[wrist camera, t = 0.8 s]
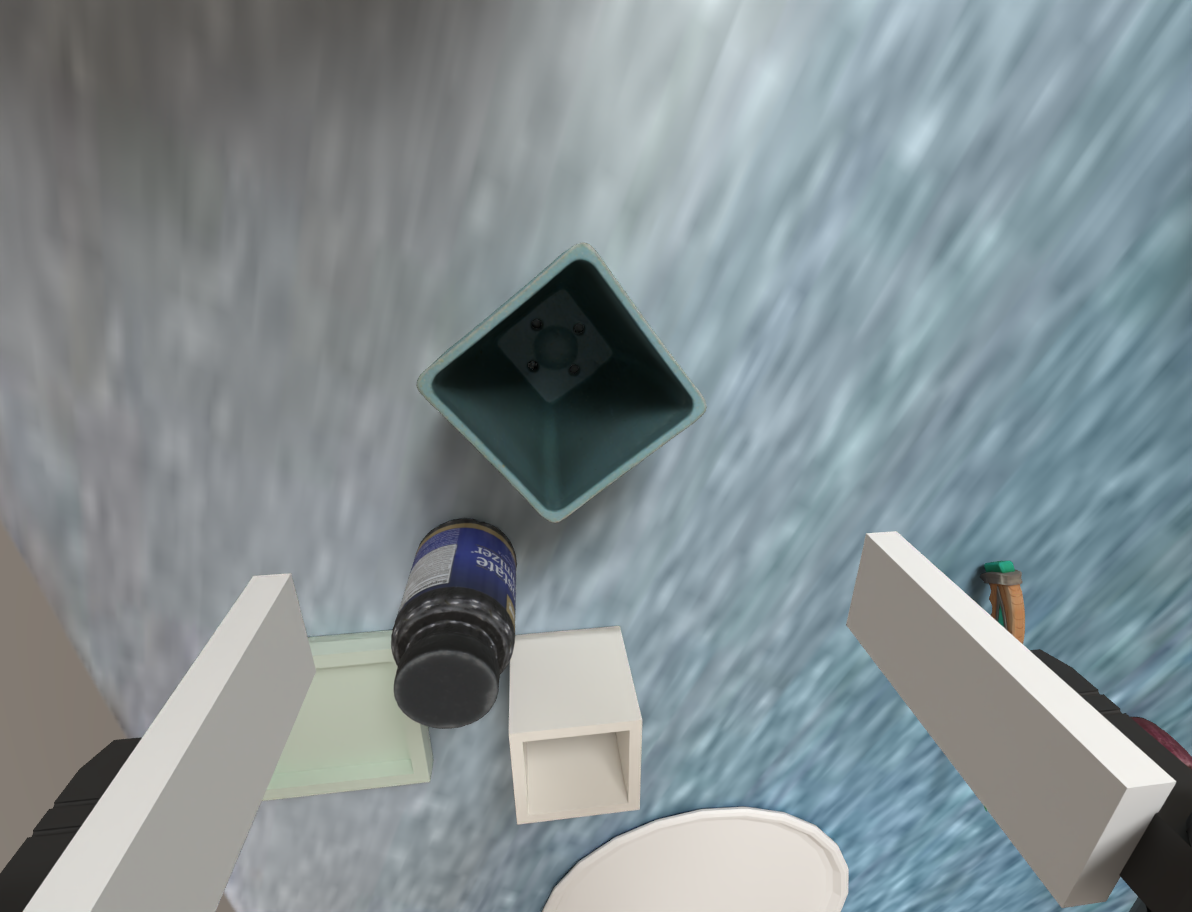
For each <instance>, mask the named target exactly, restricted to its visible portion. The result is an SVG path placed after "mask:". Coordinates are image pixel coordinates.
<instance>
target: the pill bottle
mask: <svg viewBox="0 0 1192 912" xmlns="http://www.w3.org/2000/svg"><path fill="white" fill-rule="evenodd" d="M516 567H517V563H516V555H515V551H514V549H513V547H512V544H511V542H510V541H509V539H508V538H507V537H506V536H505V534H504V533H502V532H501V531H500V530H499V529H498V528H496V527H494V526H492V525H490V524H488V523H485V522H478V521H476V520H474V519H456V520H451V521H448V522H446V523H444V524H442V525H439V526H438V527H436V528H434V529H433V530H431V531H430V532H429V533H428V534H427V535H426V536H425V538H424V539H423V540H422V541H421V543H420V545H419V548H418V550H417V553H416V556H415V559H414V562H413V566H412V569H411V572H410V575H409V578H408V582H407V585H406V589H405V592H404V595H403V598H402V602H401V605H400V608H399V611H398V615H397V618H396V621H395V625H394V628H393V631H392V635H391V649H392V654H393V658H394V660H395V662H396V665H397V666H398V667H397V671H396V676H395V680H394V697H395V700H396V702H397V704H398V707H399V708H400V709H401V710H402V712H403V713H404V714H405V715H407V716H408V717H409V718H410V719H412V720H413V721H415V722H417V723H420V724H422V725H425V726H429V727H432V728H442V729H443V728H458V727H462V726H465V725H468V724H471V723H473V722H475V721H477V720H479V719H480V718H482V717H483V716H484V715H485V714H487V713H488V712H489V710H490V709H491V708H492V706H493V705H494V703H495V701H496V698H497V695H498V690H499V678H500V674H501V673H502V672H503V671H504V669H505V668H506V667H507V665H508V663H509V661H510V659H511V657H512V654H513V649H514V644H515V602H516Z"/></svg>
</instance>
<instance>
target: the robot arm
mask: <svg viewBox="0 0 1192 912" xmlns="http://www.w3.org/2000/svg"><path fill="white" fill-rule="evenodd" d="M846 625H847V627H848V628H849V629H850V630H851V632H852V633H853V634H854V636H855V637H856V638H857V640H858V641H859V642H860V644H861V645H862V646H863V648H864V649H865V650H866V651H867V653H868V654H869V655H870V657H871V658H872V659H873V661H874V662H875V663H876V665H877V666H878V667H879V669H880V670H881V671H882V672H883V674H884V675H885V676H886V678H887V679H888V680H889V682H890V683H891V684H892V686H893V687H894V688H895V690H896V691H897V692H898V693H899V695H900V696H901V697H902V699H903V700H904V701H905V703H906V704H907V705H908V707H909V708H910V709H911V710H912V712H913V713H914V714H915V716H916V717H917V718H918V720H919V721H920V722H921V724H922V725H923V726H924V728H925V729H926V730H927V731H928V733H929V734H930V735H931V737H932V738H933V739H934V741H935V742H936V743H937V745H938V746H939V747H940V749H941V750H942V751H943V752H944V754H945V755H946V756H947V758H948V759H949V760H950V762H951V763H952V764H953V766H954V767H955V768H956V770H957V771H958V772H959V773H960V775H961V776H962V777H963V779H964V780H965V781H966V783H967V784H968V785H969V787H970V788H971V789H972V791H973V792H974V793H975V794H976V796H977V797H978V798H979V800H980V801H981V802H982V804H983V805H984V806H985V808H986V809H987V810H988V812H989V813H990V814H991V815H992V817H993V818H994V819H995V821H996V822H997V823H998V825H999V826H1000V827H1001V829H1002V830H1003V831H1004V833H1005V834H1006V835H1007V836H1008V838H1009V839H1010V840H1011V842H1012V843H1013V844H1014V846H1015V847H1016V848H1017V850H1018V851H1019V852H1020V853H1021V855H1022V856H1023V857H1024V859H1025V860H1026V861H1027V863H1028V864H1029V865H1030V867H1031V868H1032V869H1033V871H1034V872H1035V873H1036V874H1037V876H1038V877H1039V878H1040V880H1041V881H1042V882H1043V884H1044V885H1045V886H1046V888H1047V889H1048V890H1049V892H1050V893H1051V894H1052V895H1053V897H1054V898H1055V899H1056V901H1057V902H1058V903H1059V905H1060V906H1061V907H1062V908H1065V907H1072V906H1079V905H1085V904H1092V903H1098V902H1105V901H1106V900H1107V899H1108V897H1109V895H1110V894H1111V892H1112V890H1113V889H1114V887H1115V885H1116V883H1117V882H1118V880H1119V878H1120V877H1122V879H1123V880H1124V881H1125V882H1126V883H1127V884H1128V885H1129V887H1130V888H1131V889H1132V890H1133V891H1134V892H1135V893H1136V894H1137V896H1138V898H1137V900H1136V901H1135V903H1134V905H1133V906H1132V908H1131V909H1130V911H1129V912H1192V770H1191V769H1190V768H1189V767H1188V766H1187V765H1185V764H1184V763H1183V762H1182V761H1181V760H1180V759H1178V758H1177V757H1176V756H1175V755H1174V754H1173V753H1171V752H1170V751H1169V750H1168V749H1167V748H1166V747H1164V746H1163V745H1162V744H1161V743H1160V742H1159V741H1157V740H1156V739H1155V738H1154V737H1153V736H1151V735H1150V734H1149V733H1148V732H1147V731H1146V730H1144V729H1143V728H1142V727H1141V726H1140V725H1139V724H1137V723H1136V722H1135V721H1134V720H1133V719H1132V718H1130V717H1129V716H1128V715H1127V714H1126V713H1124V714H1122V713H1121V712H1120V708H1119V707H1118V706H1116V705H1115V704H1114V703H1113V702H1112V701H1111V700H1109V699H1108V698H1107V697H1106V696H1105V695H1104V694H1103V695H1100V694H1099V692H1098V689H1097V688H1095V687H1094V686H1093V685H1092V684H1091V683H1090V682H1088V681H1087V680H1086V679H1085V678H1084V677H1083V676H1081V675H1080V674H1079V673H1078V672H1077V671H1075V670H1074V669H1073V668H1072V667H1070V666H1068V665H1067V664H1065V663H1063V662H1061V661H1060V660H1058V659H1056V658H1054V657H1053V656H1051V655H1049V654H1047V653H1046V652H1044V651H1042V650H1040V649H1039V650H1028V649H1027V648H1026V647H1025V646H1024V645H1023V644H1022V643H1021V642H1019V641H1018V640H1017V639H1016V638H1015V637H1014V636H1013V635H1012V634H1011V633H1009V632H1008V631H1007V630H1006V629H1005V628H1004V627H1003V626H1002V625H1000V624H999V623H998V622H997V621H996V620H995V619H994V618H993V617H991V616H990V615H989V614H988V613H987V612H986V611H985V610H984V609H983V608H981V607H980V606H979V605H978V604H977V603H976V602H975V601H974V600H972V599H971V598H970V597H969V596H968V595H967V594H966V593H965V592H963V591H962V590H961V589H960V588H959V587H958V586H957V585H956V584H955V583H953V582H952V581H951V580H950V579H949V578H948V577H947V576H946V575H944V574H943V573H942V572H941V571H940V570H939V569H938V568H937V567H935V566H934V565H933V564H932V563H931V562H930V561H929V560H928V559H927V558H925V557H924V556H923V555H922V554H921V553H920V552H919V551H918V550H916V549H915V548H914V547H913V546H912V545H911V544H910V543H909V542H907V541H906V540H905V539H904V538H903V537H902V536H901V535H900V534H899V533H897V532H896V531H895V532H881V533H866V537H865V542H864V546H863V551H862V555H861V560H860V564H859V569H858V574H857V578H856V583H855V587H854V592H853V596H852V601H851V605H850V610H849V615H848V619H847V624H846ZM315 673H316V668H315V664H314V660H313V657H312V653H311V649H310V645H309V641H308V637H307V633H306V629H305V625H304V622H303V618H302V614H301V610H300V606H299V602H298V598H297V594H296V590H295V587H294V583H293V579H292V575H291V573H289V574H274V575H260V576H253V577H252V579H251V580H250V582H249V583H248V585H247V586H246V587H245V589H244V590H243V592H242V593H241V595H240V596H239V598H238V599H237V601H236V602H235V603H234V605H233V606H232V608H231V609H230V611H229V612H228V614H227V615H226V617H225V618H224V619H223V621H222V622H221V624H220V625H219V627H218V628H217V630H216V631H215V633H214V634H213V635H212V637H211V638H210V640H209V641H208V643H207V644H206V646H205V647H204V649H203V650H202V651H201V653H200V654H199V656H198V657H197V659H196V660H195V662H194V663H193V665H192V666H191V667H190V669H189V670H188V672H187V673H186V675H185V676H184V678H183V679H182V681H181V682H180V683H179V685H178V686H177V688H176V689H175V691H174V692H173V694H172V695H171V697H170V698H169V699H168V701H167V702H166V704H165V705H164V707H163V708H162V710H161V711H160V713H159V714H158V715H157V717H156V718H155V720H154V721H153V723H152V724H151V726H150V727H149V729H148V730H147V731H146V733H145V734H144V736H143V737H142V738H131V739H121V740H114V741H113V742H111V743H110V744H109V745H108V746H107V747H106V748H104V749H103V750H102V751H101V752H100V753H98V754H97V755H96V756H95V757H93V759H91V760H90V761H89V762H88V763H86V764H85V765H84V766H83V767H82V768H80V769H79V770H78V772H77V773H76V774H75V776H74V777H73V778H72V780H71V781H70V783H69V784H68V785H67V786H66V788H65V789H64V790H63V792H62V793H61V794H60V796H59V797H58V798H57V800H56V801H55V802H54V807H53V809H49V810H48V811H47V813H46V814H45V815H44V817H43V818H42V819H41V821H40V822H39V823H38V825H37V826H36V827H35V828H34V830H33V835H32V837H29V838H27V839H26V840H25V842H24V843H23V844H22V846H21V847H20V848H19V850H18V851H17V852H16V854H15V855H14V856H13V857H12V859H11V860H10V861H9V863H8V864H7V865H6V867H5V868H4V869H3V871H2V872H1V873H0V912H215V911H216V909H217V906H218V904H219V902H220V900H221V897H222V895H223V892H224V890H225V888H226V885H227V883H228V880H229V878H230V876H231V873H232V871H233V869H234V866H235V864H236V861H237V859H238V857H239V854H240V852H241V849H242V847H243V845H244V842H245V840H246V838H247V835H248V833H249V830H250V828H251V826H252V823H253V821H254V818H255V816H256V814H257V811H258V809H259V807H260V804H261V802H262V799H263V797H264V795H265V792H266V790H267V787H268V785H269V783H270V780H271V778H272V776H273V773H274V771H275V768H276V766H277V764H278V761H279V759H280V756H281V754H282V752H283V749H284V747H285V745H286V742H287V740H288V737H289V735H290V733H291V730H292V728H293V725H294V723H295V721H296V718H297V716H298V714H299V711H300V709H301V706H302V704H303V702H304V699H305V697H306V694H307V692H308V690H309V687H310V685H311V683H312V680H313V678H314V675H315Z"/></svg>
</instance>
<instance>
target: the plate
mask: <svg viewBox="0 0 1192 912" xmlns="http://www.w3.org/2000/svg"><path fill="white" fill-rule="evenodd" d="M847 895H848V866H847V864H846V862H845V860H844V858H843V856H842V853H841V851H840V849H839V847H838V845H837V844H836V843H835V842H834V841H833V840H832V839H831V838H830V837H828V836H827V835H826V834H825V833H824V832H823V831H822V830H820V829H819V828H818V827H817V826H816V825H814V824H811V823H809V822H807V821H804V820H802V819H799V818H797V817H794V816H792V815H790V814H787V813H785V812H778V811H772V810H765V809H758V808H751V807H731V808H713V809H700V810H695V811H691V812H687V813H683V814H678V815H674V816H670V817H666V818H662V819H657V820H655V821H652V822H650V823H648V824H645V825H643V826H640V827H638V828H636V829H633V830H631V831H629V832H626V833H624V834H622V835H619V836H617V837H615V838H613V839H612V840H610V841H609V842H607V843H606V844H604V845H603V846H601V847H600V848H598V849H597V850H595V851H594V852H592V853H591V854H589V855H588V856H586V857H585V858H583V859H582V860H580V861H579V862H578V863H577V864H576V865H575V866H574V867H573V868H572V869H571V870H570V871H569V872H568V874H567V875H566V876H565V877H564V878H563V879H562V880H561V881H560V882H559V883H558V884H557V885H556V886H555V887H554V889H553V891H552V893H551V895H550V897H549V899H548V901H547V903H546V905H545V906H544V908H543V910H542V912H841V909H842V907H843V905H844V902H845V900H846V897H847Z"/></svg>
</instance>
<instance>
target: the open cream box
mask: <svg viewBox="0 0 1192 912" xmlns="http://www.w3.org/2000/svg"><path fill="white" fill-rule="evenodd" d="M509 742H510V753H511V763H512V774H513V784H514V795H515V806H516V816H517V825H518V824H527V823H535V822H543V821H551V820H559V819H567V818H575V817H583V816H591V815H599V814H608V813H616V812H624V811H632V810H640V777H641V744H642V717H641V713H640V709H639V704H638V700H637V696H636V692H635V688H634V684H633V679H632V675H631V671H630V667H629V663H628V659H627V654H626V650H625V646H624V642H623V638H622V634H621V629H620V626H612V627H601V628H589V629H578V630H567V631H556V632H544V633H533V634H522V635H515V644H514V649H513V654H512V657H511V659H510V692H509Z"/></svg>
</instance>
